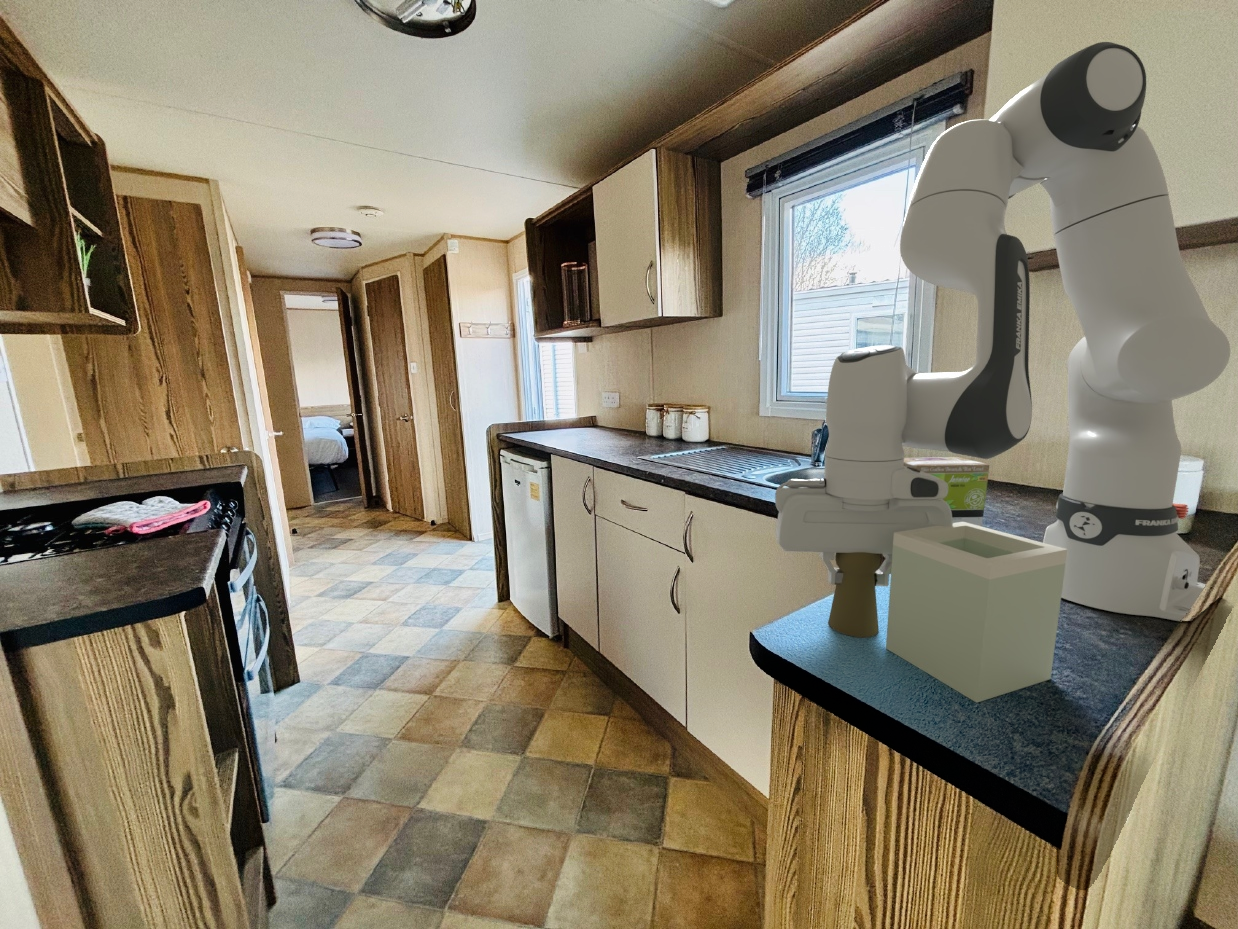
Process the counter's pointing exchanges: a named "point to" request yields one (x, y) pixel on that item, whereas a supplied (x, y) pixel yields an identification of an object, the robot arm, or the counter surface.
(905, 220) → the robot arm
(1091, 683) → the counter surface
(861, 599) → the cork
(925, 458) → the tea box
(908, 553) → the open top box
